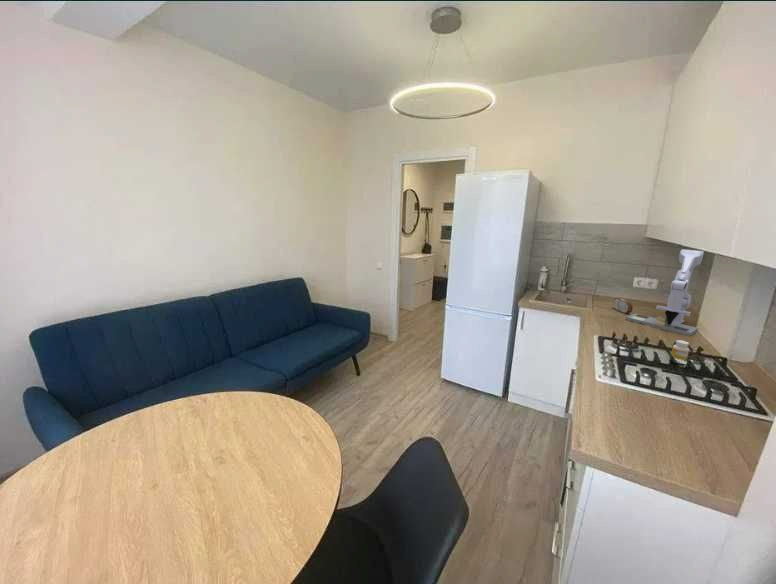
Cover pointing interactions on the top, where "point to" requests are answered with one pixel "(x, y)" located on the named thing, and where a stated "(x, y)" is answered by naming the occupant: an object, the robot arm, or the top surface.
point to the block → (661, 320)
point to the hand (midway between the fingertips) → (669, 324)
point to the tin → (623, 305)
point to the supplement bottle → (680, 350)
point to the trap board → (673, 327)
